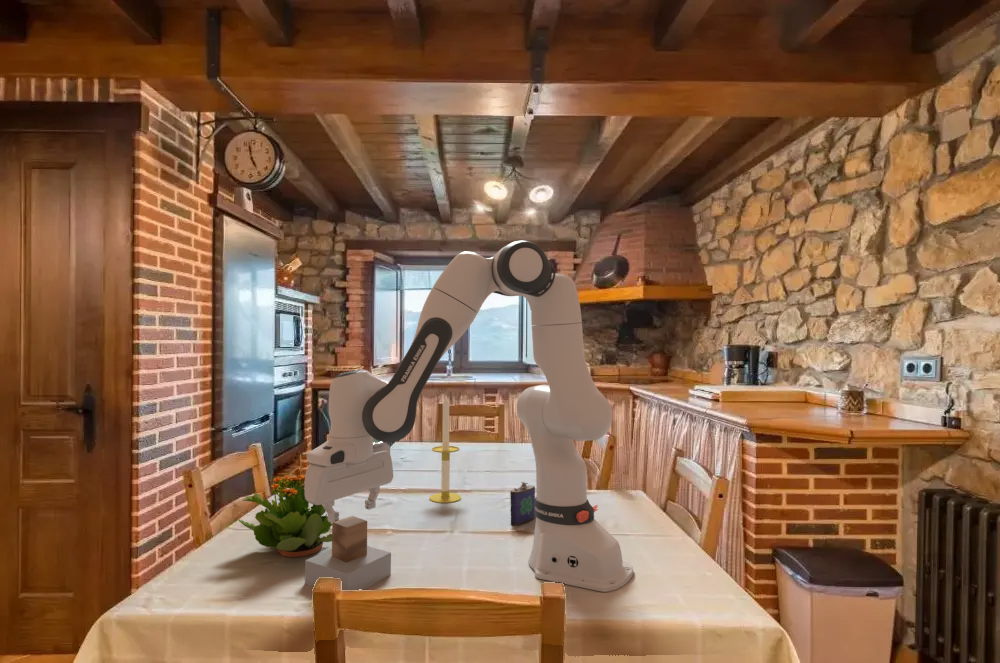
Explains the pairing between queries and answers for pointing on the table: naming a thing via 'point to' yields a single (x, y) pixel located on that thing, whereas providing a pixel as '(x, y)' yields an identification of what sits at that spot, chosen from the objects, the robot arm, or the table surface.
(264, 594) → the table surface
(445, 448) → the wheel axle
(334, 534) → the walnut block
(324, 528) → the potted flower
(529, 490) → the flask
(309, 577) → the plate
